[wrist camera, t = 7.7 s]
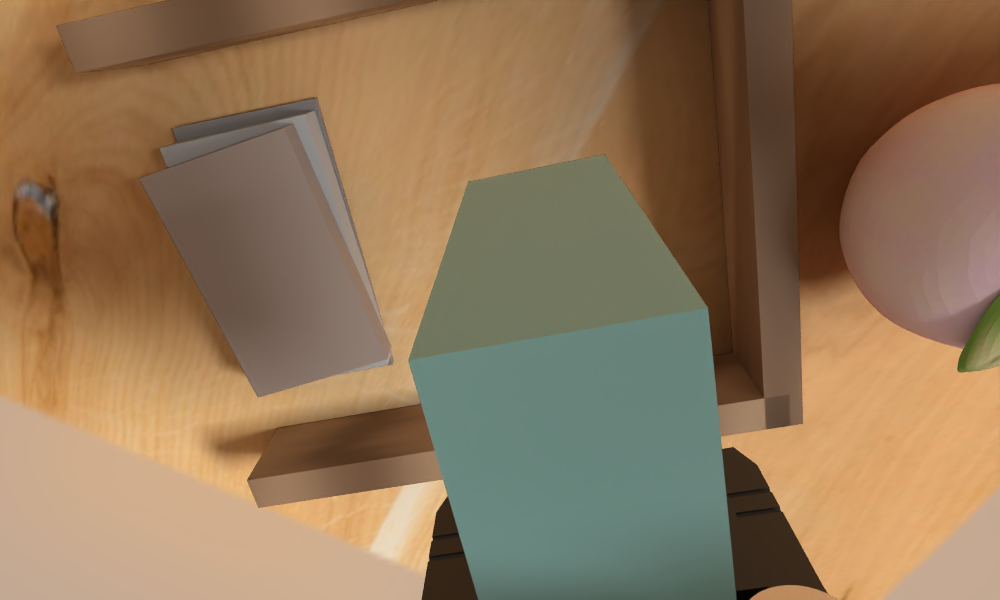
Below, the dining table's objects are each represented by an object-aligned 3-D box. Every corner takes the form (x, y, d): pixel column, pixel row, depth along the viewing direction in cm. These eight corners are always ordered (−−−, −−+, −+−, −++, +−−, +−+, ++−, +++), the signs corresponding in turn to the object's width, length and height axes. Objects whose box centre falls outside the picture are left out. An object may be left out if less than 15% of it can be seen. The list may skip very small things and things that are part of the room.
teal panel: (604, 154, 12) (708, 308, 5) (667, 576, 15) (772, 970, 9) (468, 181, 12) (408, 360, 6) (561, 590, 16) (590, 984, 9)
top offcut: (293, 123, 25) (283, 128, 24) (391, 346, 29) (386, 359, 28) (154, 172, 26) (139, 178, 25) (267, 383, 30) (257, 397, 28)
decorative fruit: (831, 54, 25) (1014, 71, 16) (1038, 78, 26) (1337, 108, 16) (767, 281, 29) (888, 401, 20) (949, 300, 29) (1153, 428, 20)
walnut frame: (743, -115, 23) (787, -142, 20) (767, 375, 31) (803, 423, 27) (122, 25, 25) (55, 25, 22) (286, 453, 33) (258, 507, 29)
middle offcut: (314, 110, 26) (305, 114, 25) (391, 352, 30) (387, 365, 29) (173, 143, 27) (159, 148, 26) (268, 376, 31) (259, 389, 30)
